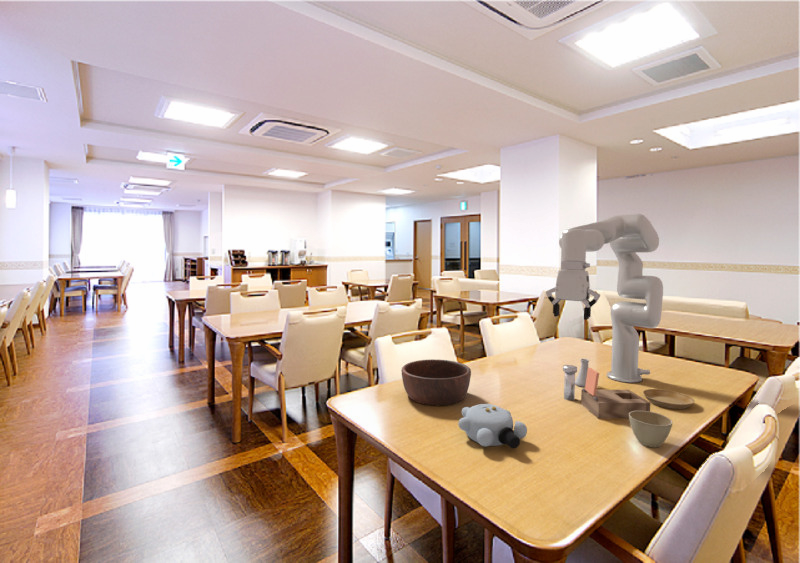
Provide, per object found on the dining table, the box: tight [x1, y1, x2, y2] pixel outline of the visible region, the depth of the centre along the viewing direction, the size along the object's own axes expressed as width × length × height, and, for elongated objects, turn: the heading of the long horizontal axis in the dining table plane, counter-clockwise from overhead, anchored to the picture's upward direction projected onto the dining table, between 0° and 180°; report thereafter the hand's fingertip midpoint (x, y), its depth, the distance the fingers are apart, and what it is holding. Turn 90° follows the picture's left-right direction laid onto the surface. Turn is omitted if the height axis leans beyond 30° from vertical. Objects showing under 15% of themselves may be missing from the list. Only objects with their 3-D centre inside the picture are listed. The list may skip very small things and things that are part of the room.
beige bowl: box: [628, 411, 673, 448], centre depth 108 cm, size 10×10×7 cm
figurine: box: [458, 403, 528, 450], centre depth 111 cm, size 17×8×20 cm
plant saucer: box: [642, 388, 696, 410], centre depth 137 cm, size 15×15×3 cm
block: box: [580, 387, 651, 420], centre depth 130 cm, size 16×12×6 cm
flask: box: [575, 358, 590, 388], centre depth 156 cm, size 7×7×10 cm
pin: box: [562, 364, 578, 401], centre depth 141 cm, size 5×5×12 cm
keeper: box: [584, 367, 600, 396], centre depth 129 cm, size 8×6×1 cm
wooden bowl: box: [400, 359, 472, 406], centre depth 144 cm, size 25×25×10 cm
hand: (571, 317), depth 133 cm, fingers open, 9 cm apart
